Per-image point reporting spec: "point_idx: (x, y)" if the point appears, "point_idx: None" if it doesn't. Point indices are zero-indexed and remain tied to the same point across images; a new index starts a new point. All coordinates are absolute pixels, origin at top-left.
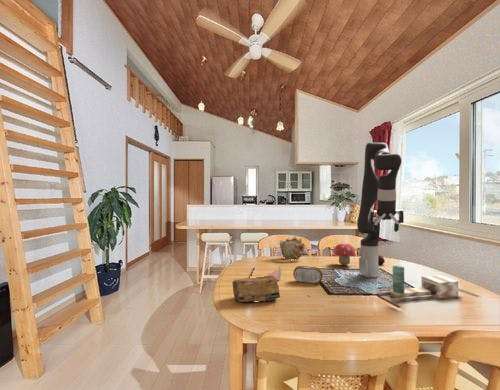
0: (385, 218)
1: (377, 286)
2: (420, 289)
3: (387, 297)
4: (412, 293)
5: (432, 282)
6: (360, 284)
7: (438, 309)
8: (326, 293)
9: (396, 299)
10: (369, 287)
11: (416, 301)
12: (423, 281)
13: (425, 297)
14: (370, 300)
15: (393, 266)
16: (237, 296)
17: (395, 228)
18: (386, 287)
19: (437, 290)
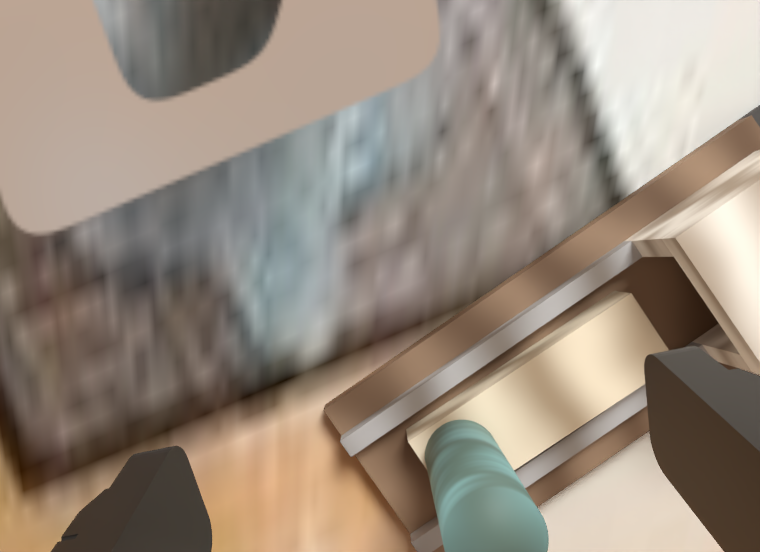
0: None
1: (339, 181)
2: (614, 350)
3: (386, 478)
4: (547, 445)
5: (727, 326)
6: (220, 180)
7: (653, 495)
8: (10, 481)
9: (435, 548)
10: (283, 229)
11: (552, 483)
12: (669, 255)
13: (618, 420)
14: (286, 500)
15: (451, 540)
16: None
17: (702, 506)
18: (400, 179)
19: (723, 354)
